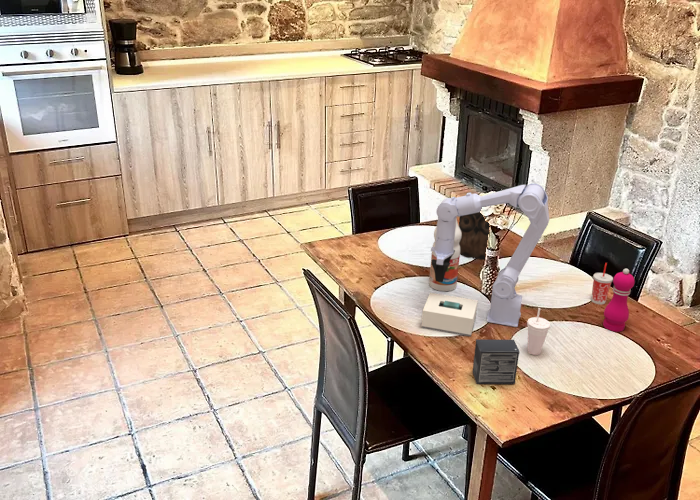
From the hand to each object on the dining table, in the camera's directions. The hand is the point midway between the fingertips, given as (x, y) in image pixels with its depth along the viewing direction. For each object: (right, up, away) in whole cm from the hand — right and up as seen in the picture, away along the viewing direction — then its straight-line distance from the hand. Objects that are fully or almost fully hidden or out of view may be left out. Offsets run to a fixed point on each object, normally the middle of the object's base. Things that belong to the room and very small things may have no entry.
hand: (441, 276), depth 215 cm
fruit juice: (+3, -4, +17) cm, 18 cm away
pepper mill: (+53, -16, -5) cm, 55 cm away
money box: (+2, -14, -6) cm, 15 cm away
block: (+2, -14, -6) cm, 15 cm away
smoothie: (+24, -21, -19) cm, 37 cm away
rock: (+19, +7, +42) cm, 47 cm away
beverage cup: (+54, -9, +10) cm, 55 cm away
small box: (+10, -26, -31) cm, 42 cm away
